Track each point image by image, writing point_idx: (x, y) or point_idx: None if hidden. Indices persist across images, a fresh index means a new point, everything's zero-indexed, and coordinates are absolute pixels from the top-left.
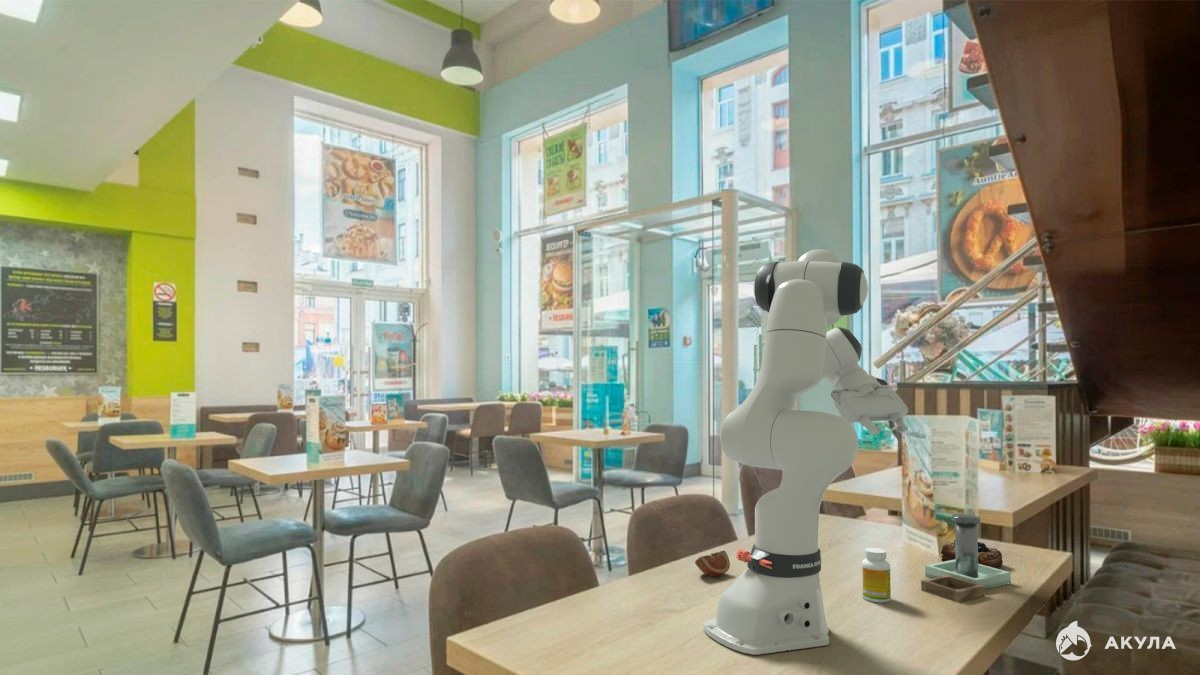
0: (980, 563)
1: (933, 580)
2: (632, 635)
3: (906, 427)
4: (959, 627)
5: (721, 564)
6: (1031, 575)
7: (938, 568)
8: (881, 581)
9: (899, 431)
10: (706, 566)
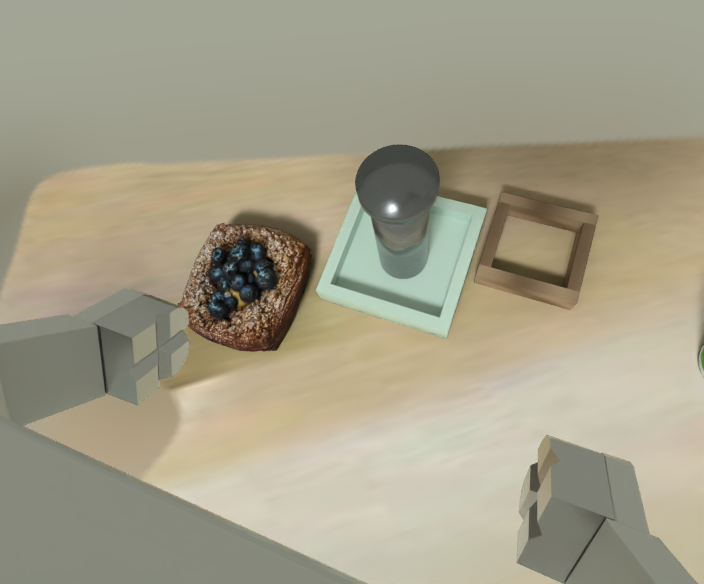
0: (309, 249)
1: (547, 283)
2: None
3: (135, 292)
4: None
5: None
6: (269, 178)
7: (451, 298)
8: None
9: (177, 363)
10: None
